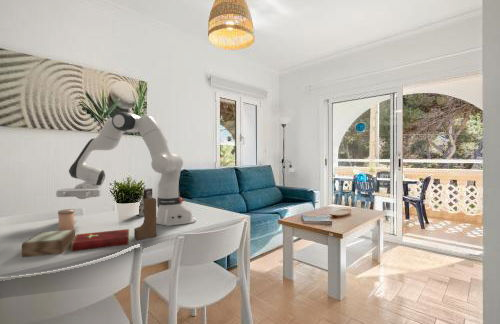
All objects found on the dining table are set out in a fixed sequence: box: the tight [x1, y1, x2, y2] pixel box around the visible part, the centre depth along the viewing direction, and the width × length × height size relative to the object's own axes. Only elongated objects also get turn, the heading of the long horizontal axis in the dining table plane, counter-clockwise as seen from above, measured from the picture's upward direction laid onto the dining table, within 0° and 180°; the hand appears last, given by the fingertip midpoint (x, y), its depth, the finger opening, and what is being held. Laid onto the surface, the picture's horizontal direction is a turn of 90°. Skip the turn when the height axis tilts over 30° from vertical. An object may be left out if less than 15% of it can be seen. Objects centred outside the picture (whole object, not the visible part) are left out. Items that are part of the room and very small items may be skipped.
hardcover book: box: [70, 228, 130, 252], centre depth 115 cm, size 12×21×4 cm, turn 114°
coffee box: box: [139, 188, 153, 217], centre depth 168 cm, size 9×6×16 cm
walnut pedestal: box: [21, 229, 76, 258], centre depth 109 cm, size 13×15×5 cm
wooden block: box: [133, 197, 157, 241], centre depth 123 cm, size 9×4×18 cm, turn 128°
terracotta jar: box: [57, 208, 75, 231], centre depth 125 cm, size 6×6×12 cm
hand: (74, 194), depth 136 cm, fingers open, 8 cm apart
